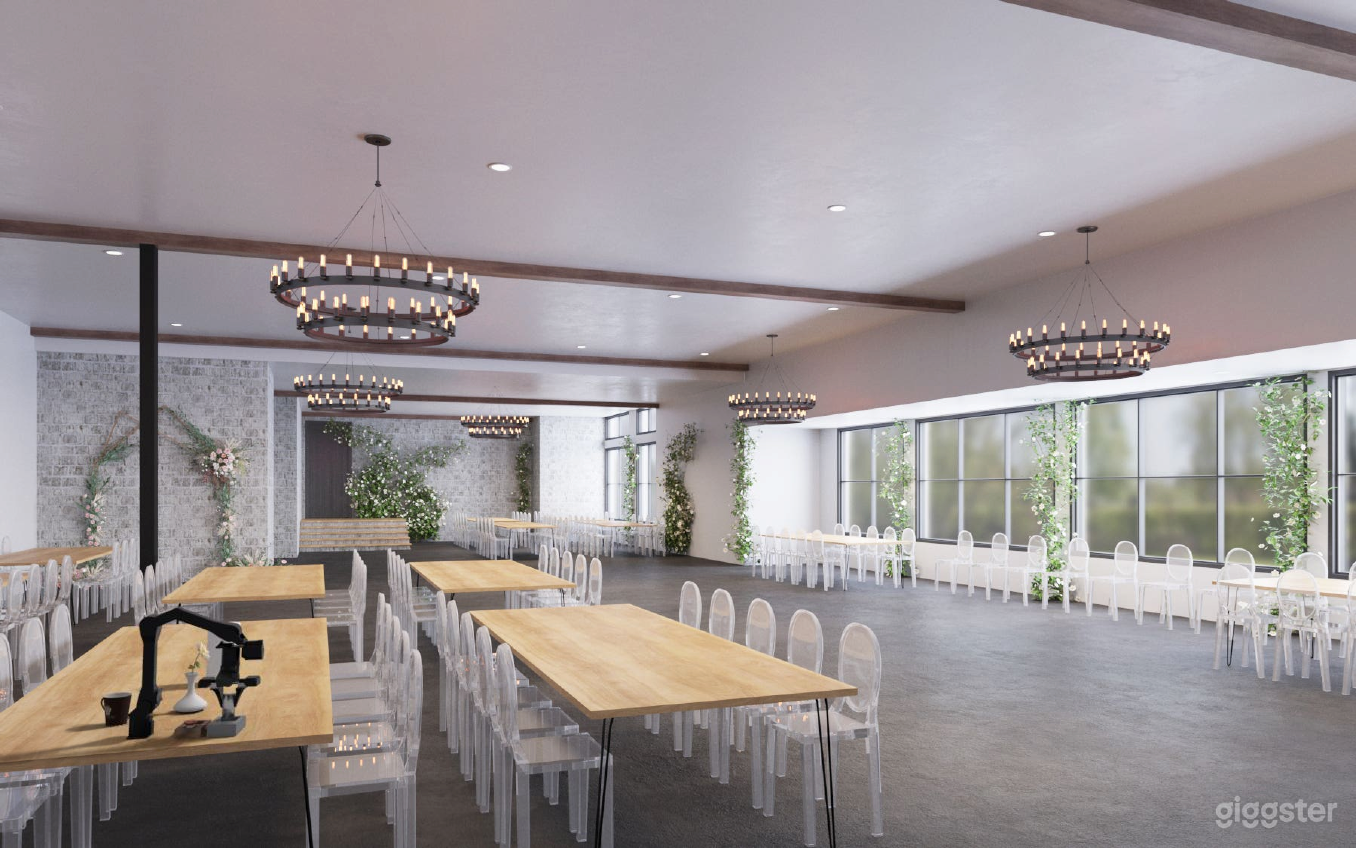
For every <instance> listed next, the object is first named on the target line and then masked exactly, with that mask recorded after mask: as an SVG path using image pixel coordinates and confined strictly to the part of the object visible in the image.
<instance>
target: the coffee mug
mask: <svg viewBox="0 0 1356 848" xmlns="http://www.w3.org/2000/svg"><path fill="white" fill-rule="evenodd" d="M132 695H133V693H132V692H126V691H125V692H121V691H120V692H113V693H107V694H105V695H103V697H101V699H100V706H101V708H102V709H103V710H104V711H103V712H104V721H105V726H106V727H119V725H121V726H124V725H123V724H125V725H126V724H128V721H129V717H128V714H129V713H130V708H131V707H130V706H131V702H132V697H133V696H132Z"/></svg>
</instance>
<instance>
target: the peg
mask: <svg viewBox="0 0 1356 848" xmlns="http://www.w3.org/2000/svg"><path fill="white" fill-rule="evenodd" d="M235 695H236V692H224V693H223V698H222V708H221V716H222V719H232V718H235V716H236V714H235V713H236V707H234V702H235Z"/></svg>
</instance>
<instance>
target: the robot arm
mask: <svg viewBox="0 0 1356 848" xmlns="http://www.w3.org/2000/svg"><path fill="white" fill-rule="evenodd" d="M173 621H179V622H181V623H185V624H188V625H190V626H193V627H197V628H198V629H202V630H204V631H207V632H208V631H210V632H212V633H213V634H215V635H216V636H217V637H219V638H221V639H222V641H221V642H220V643H219V644H218V645H217V646H216V647H215V648H216V649H220V648H222V657H221V666H220V671H219V673H218V675H217V677H216V679H215V677H206V676H204V677H202V678H200V679H199V680H198V681H197V689H208V688H209V687H210V685H211V687H210V688H209V690H210V691H213V692H214V694H215V696H216V698H217V700H218V703H219V707H220V708H221V709H222V698H223V694H224V687H225V688H230V687H232V686H233V685H232V684H234V685H237V687H235V693H236V695H235V702H234V707H235V708H237V706H238V704H239V702H240V700H241V699H240V698H241V697H242V694H243V693H244V691H245V690H246V689H247V688H249V687H250V688H251V687H258V685H260V684H261V683H262V682H261V680H262V679H261V678H262V677H261V676H260V675H257V674H256V675H247V676H246V677H245V678H240V677H241V675H240V666H241V662H240V661H241V658H242V659H243V660H244V661H263V660H264V656H265V647H264V640H263V639H256V640H255V639H251V640H249V639H248V638H247V636H246V635H245V634H244V633H243V628H242V625H241V626H240V625H239V624H237V623H233V622H234V621H225V620H219V619H218V620H217V619H215V618H214V619H213V618H211V617H209V616H205V615H202V614H200V613H198V612H194V611H193V610H189V609H187V608H184V607H183V606H176V607H174V608H172V609H170V610H167V611H164V612H161V613H160V614H157V613H152V614H148V615H147V616H145V617H143V618H142V619H141V620H140V621H139V623H138V628H139V629H138V630H139V636H140V638H141V641H142V665H141V666H142V671H141V687H140V690H139V692H138V697H137V699H136V705H135V708H133V709H132V711H129V714H128V733H127V734H128V735H127V736H126V737H125V739H127V740H129V739H147V737H148V738H149V737H150V736H152V735H153V734H154V733H155V720H154V717H153V716H154V715H153V713H154V711H156V709H157V708H158V707H159V706H160V705H161V702H162V701H163V699H164V698H163V696H162V694H163V687H162V688H159V687H158V684H157V677H158V676H157V673H158V672H157V670H158V669H157V668H158V667H157V665H158V642H159V640H160V639H159V638H160V636H161V632H162V628H163V625H167V624H168V623H172V622H173ZM223 640H224V641H226V642H233V643H225V642H224V641H223ZM234 643H235V644H236V645H234Z"/></svg>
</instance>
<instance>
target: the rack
mask: <svg viewBox="0 0 1356 848" xmlns="http://www.w3.org/2000/svg"><path fill="white" fill-rule="evenodd" d="M246 722H247V715H244V714H243V715H235V718H232V719H222V715H219V716H216V718H214V719H212V722H210V723H209V724H208V725H207V732H206V738H220V737H221V738H222V737H223V738H224V737H237V736H238V735H239V734H240V733H241V732H242V731H243V730H244V729H245V728H246V727H247V725H246V724H247V723H246ZM245 726H246V727H245ZM244 727H245V728H244ZM243 728H244V729H243ZM242 729H243V730H242ZM241 730H242V731H241ZM240 731H241V732H240ZM239 732H240V733H239ZM238 733H239V734H238ZM237 734H238V735H237Z"/></svg>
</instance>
